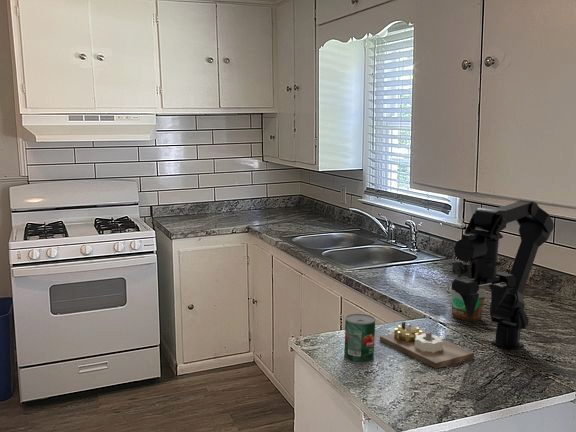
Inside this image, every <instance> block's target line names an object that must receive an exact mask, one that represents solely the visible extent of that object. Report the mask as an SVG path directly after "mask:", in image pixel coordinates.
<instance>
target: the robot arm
mask: <svg viewBox="0 0 576 432" xmlns="http://www.w3.org/2000/svg"><path fill="white" fill-rule="evenodd" d="M515 221H516V222H517V224H518V225H519V228H518V234H519V238H520V243H519V246H518V249H517V252H516V254H515V257H514V260H513V263H512V266H511V268H510V272H509V273H508V272H503V271H500V270H499V271H497V268H498V266H501V262H502V261H500V260H498V257H499V256H498V254H499V241H500V239H503V238H504V235H503V234H502V233H500V232H501V231H503V230H505V229H506V228H507V224H508V223H512V222H515ZM554 226H555V224H554V220H553V219H552V217H551V215H550V214H549V213H548V212H546V211H545V210H543V209H542V208H541V207H540V206H539V204H538V203H537V202H536V201H533V200H524V199H520V200H517V201H516V202H512V203H510V204H507V205H503V206H499V207H494V208H493V207H478V208H476V209H475V211H474V212H473V214H472V216H471V218H470V220H469V222H468V224H467V226H466V228H465V230H464V234H462V235H461V239H459V240H458V241H456V243H455V245H454V249H453V250H454V251H453V252H454V254H455V257H456V258H457V259H458V260H459V261H460V262H454V263H452V267H451V268H452V269H451V271H452V274H453V275H454V276H457V278H453V280H452V281H451V284H452V286H451V285H450V286H451V289H452V290H455V292H457V293H459V294H460V295H461V297H462V299H463V301H464V304H465V308H466V311H467V315H468V316H469V317H472V315H473V313H474V310H475V306H476V303H477V300H478V297H479V294H478V293H477V292H478V291H480V287H485V286H486V287H487V286H489V289H490V291H491V292H490V293H491V295H490V296H491V298H490V299H491V301H490V306H489V313H490V321H491V322H492V323H497V325H496V330H495V339H494V340H492V341H491V342H490V343H491V344H493V345H496V346H498V347H500V348H503V349H505V350H508V351H512V350H515V349H519V348H523V347H525V343H521V342H520V341H521V331H522V330H526V329H527V327H528V325H529V320H530V319H529V317H528V315H527V314H526V312H525V306H526V303H525V299H524V297H523V296H524V295H523V292H524V291H525V287H526V283H527V282H528V278H529V275H530V273H531V270H532V267H533V264H534V261H535V259H536V256H537V252H538V250H539V247H541V246H542V245H543V244H545V243H546V242H547V241H548V239H549V238H550V235H551V233H552V232H553V230H554ZM462 262H464V263H465V262H469V264H463V263H462ZM466 277H467V278H466Z"/></svg>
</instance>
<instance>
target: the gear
mask: <svg viewBox="0 0 576 432" xmlns="http://www.w3.org/2000/svg"><path fill="white" fill-rule="evenodd" d="M419 329H420V328H419V327H418V326H417V327H414V326H413V325H412V324H411V323H406V321H401V325H398V326H397V327H394V331H393V333H394V337H397V340H402V341H405V342H414V341H415V336H416V335H421V334H422V331H423V330H422V331H419Z"/></svg>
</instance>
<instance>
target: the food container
mask: <svg viewBox="0 0 576 432" xmlns="http://www.w3.org/2000/svg"><path fill="white" fill-rule="evenodd" d="M451 286H452V283H451V284H450V286H449V293H450V296H451V298H450V299H451V315H453V316H454V318H455V319H457V318H458V319H457V320H460V319H461V320H460V321H467V322H468V321H469V322H474V321H480V320H481V319H482V316H483V309H484V304H485V298H487V296H488V294H487V290H486V289H483V290H478V292H477V293H478V294H479V297H478V300H477V303H476V306H475V310H474V313H473V315H472V317H469V316H468V315H467V311H466V308H465V304H464V301H463V299H462V297H461V295H460V294H459V293H457V292H455V290H452V289H451ZM453 316H452V317H453Z"/></svg>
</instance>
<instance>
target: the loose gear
mask: <svg viewBox="0 0 576 432" xmlns="http://www.w3.org/2000/svg"><path fill="white" fill-rule="evenodd" d="M443 340H444V339H443V338H442V337H441V336H437V335H436V334H432V336H431V341H429V340H426V334H421V335H416V336H415V346H414V347H415V348H417V349H419V350H421V351H423V352H425V351H427V352H432V353H434V352H436V351H442V347H443Z"/></svg>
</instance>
